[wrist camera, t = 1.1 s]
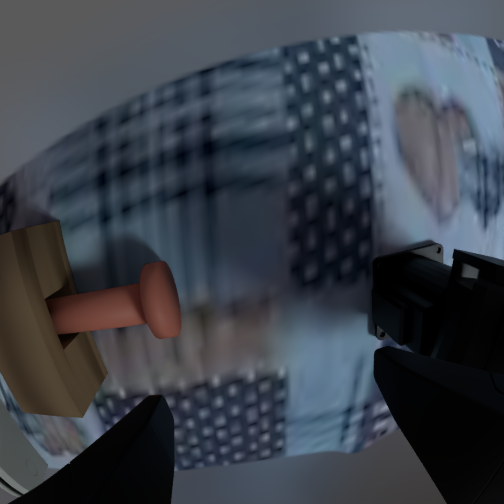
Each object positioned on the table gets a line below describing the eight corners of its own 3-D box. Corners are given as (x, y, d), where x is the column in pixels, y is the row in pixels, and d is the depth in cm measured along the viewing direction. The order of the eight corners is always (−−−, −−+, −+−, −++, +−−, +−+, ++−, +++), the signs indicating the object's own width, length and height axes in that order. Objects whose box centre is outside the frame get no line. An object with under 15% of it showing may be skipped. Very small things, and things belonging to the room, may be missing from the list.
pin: (168, 253, 18) (151, 271, 14) (184, 317, 19) (174, 350, 15) (50, 278, 18) (16, 297, 13) (68, 333, 19) (41, 361, 14)
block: (59, 220, 17) (10, 231, 12) (107, 373, 20) (82, 417, 14) (5, 238, 17) (-42, 252, 11) (52, 374, 19) (23, 412, 14)
